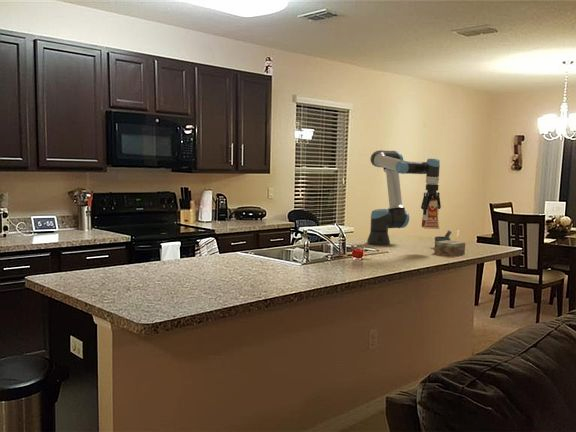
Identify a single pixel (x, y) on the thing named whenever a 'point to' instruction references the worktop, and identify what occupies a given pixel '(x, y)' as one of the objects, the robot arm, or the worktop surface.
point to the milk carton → (431, 216)
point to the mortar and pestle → (443, 237)
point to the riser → (450, 248)
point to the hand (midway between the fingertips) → (430, 219)
